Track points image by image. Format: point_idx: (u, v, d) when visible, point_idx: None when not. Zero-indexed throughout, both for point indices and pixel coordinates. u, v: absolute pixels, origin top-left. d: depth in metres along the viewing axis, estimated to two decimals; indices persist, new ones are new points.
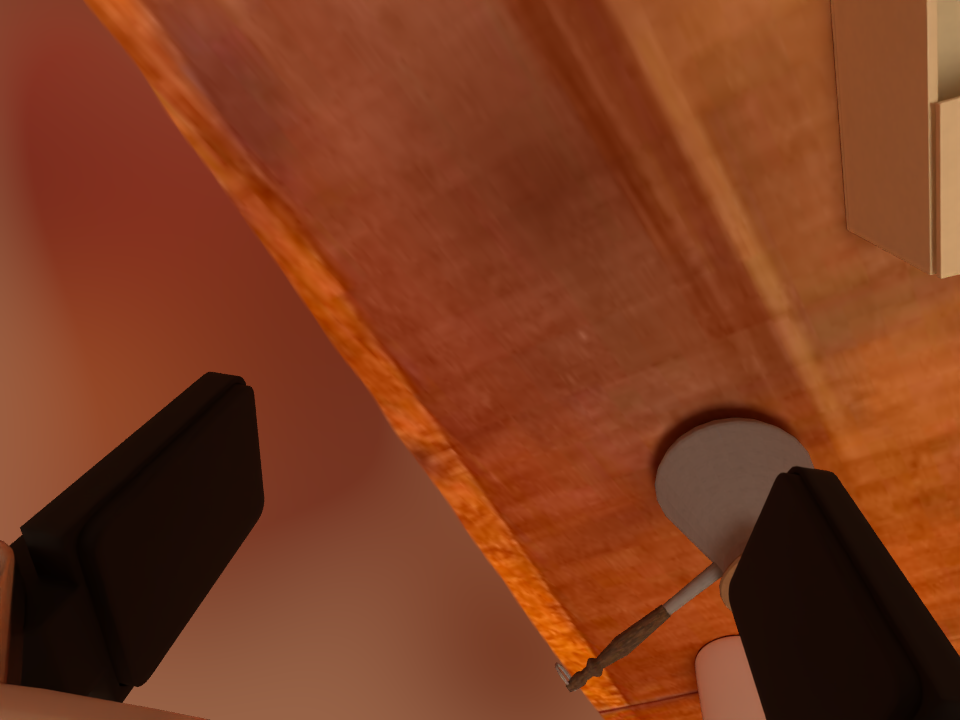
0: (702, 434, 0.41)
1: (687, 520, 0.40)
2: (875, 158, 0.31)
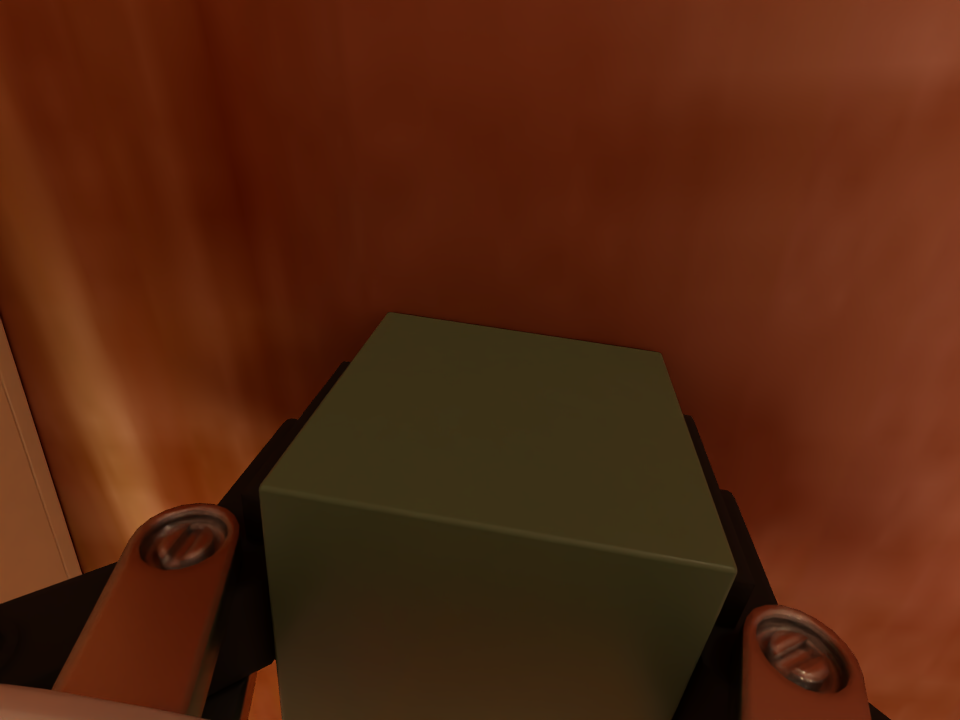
0: None
1: None
2: None
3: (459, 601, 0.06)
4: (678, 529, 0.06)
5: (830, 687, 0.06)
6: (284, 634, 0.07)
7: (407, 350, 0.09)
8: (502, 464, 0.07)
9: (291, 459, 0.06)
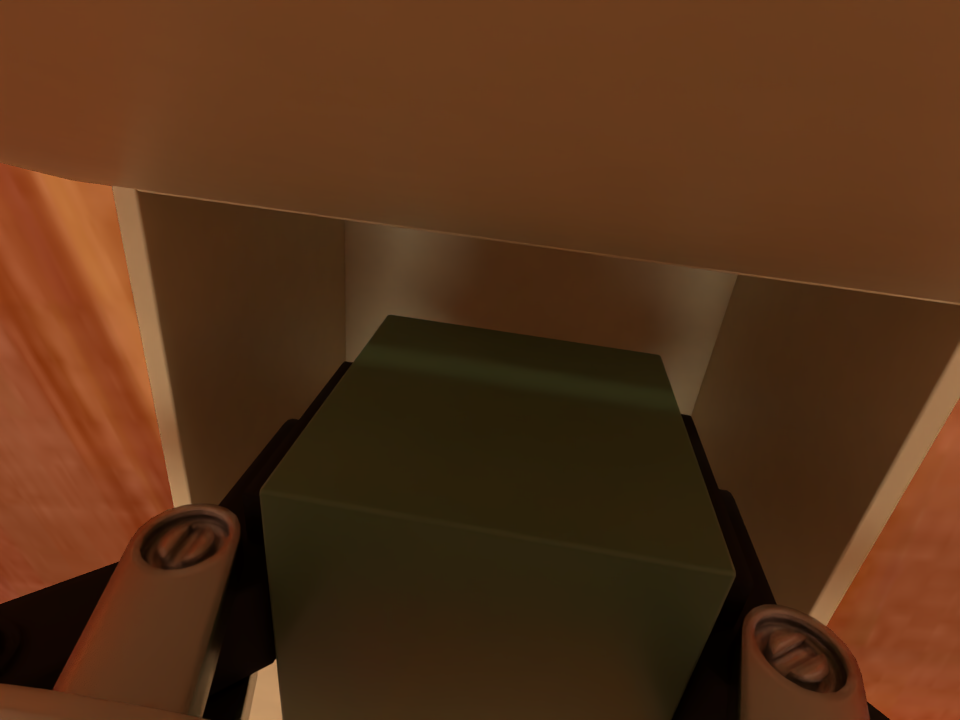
0: None
1: None
2: None
3: (458, 603, 0.06)
4: (677, 532, 0.06)
5: (829, 686, 0.06)
6: (285, 636, 0.07)
7: (407, 352, 0.09)
8: (503, 467, 0.07)
9: (291, 462, 0.06)
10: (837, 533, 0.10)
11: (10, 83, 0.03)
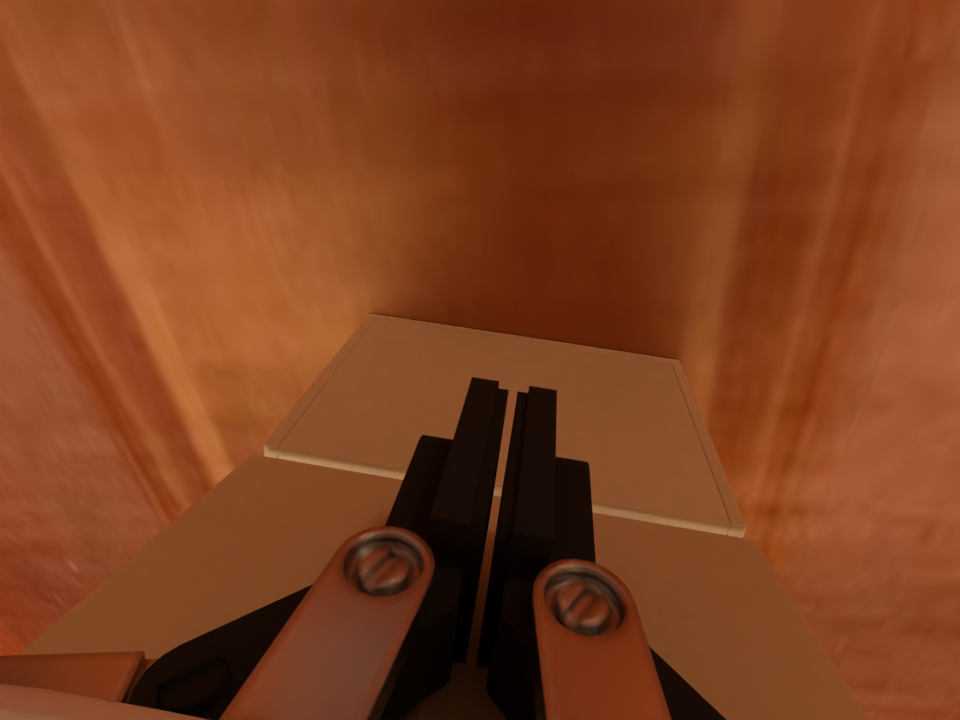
0: None
1: None
2: None
3: None
4: None
5: (612, 622, 0.06)
6: None
7: None
8: None
9: None
10: None
11: None
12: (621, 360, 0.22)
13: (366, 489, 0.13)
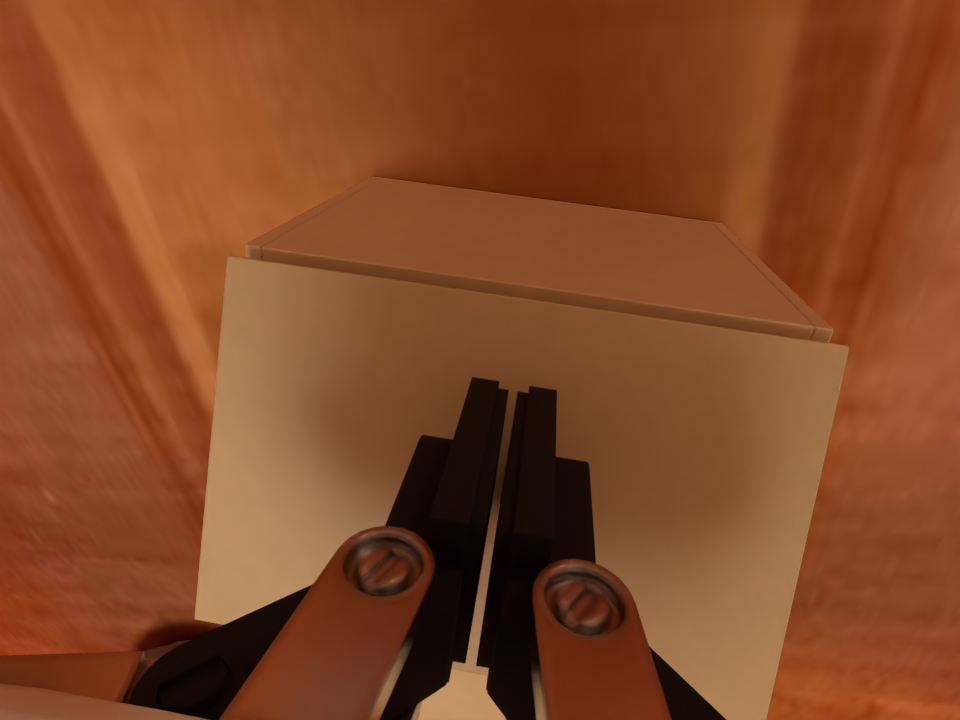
0: None
1: None
2: None
3: None
4: None
5: (612, 622, 0.06)
6: None
7: None
8: None
9: None
10: None
11: None
12: (657, 219, 0.19)
13: (373, 316, 0.12)
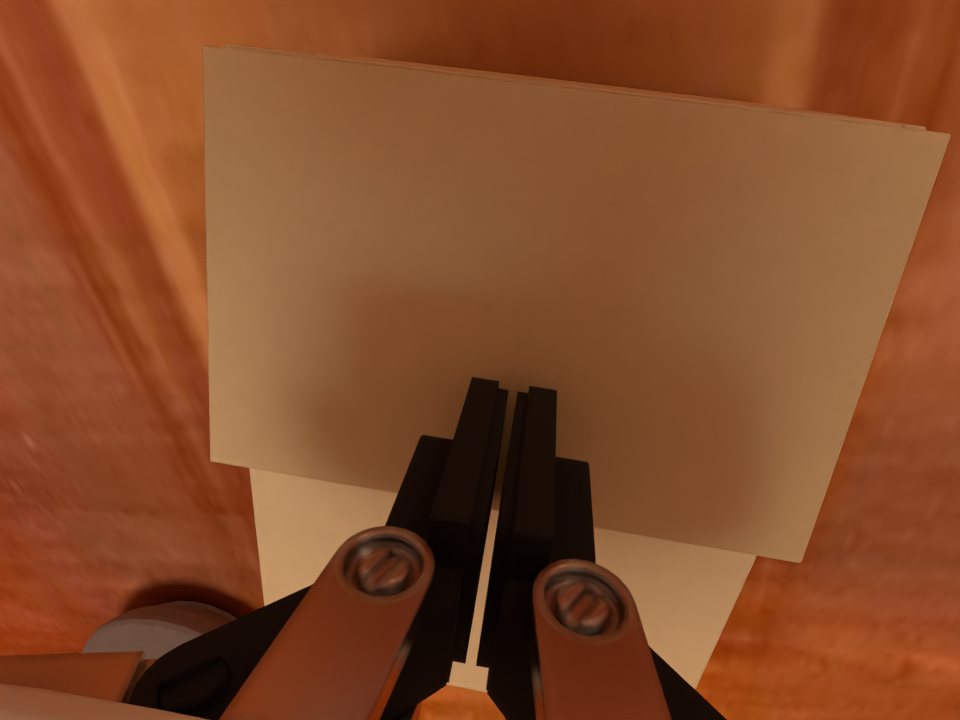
0: (133, 628, 0.30)
1: None
2: None
3: None
4: None
5: (612, 622, 0.06)
6: None
7: None
8: None
9: None
10: None
11: None
12: None
13: (378, 115, 0.10)
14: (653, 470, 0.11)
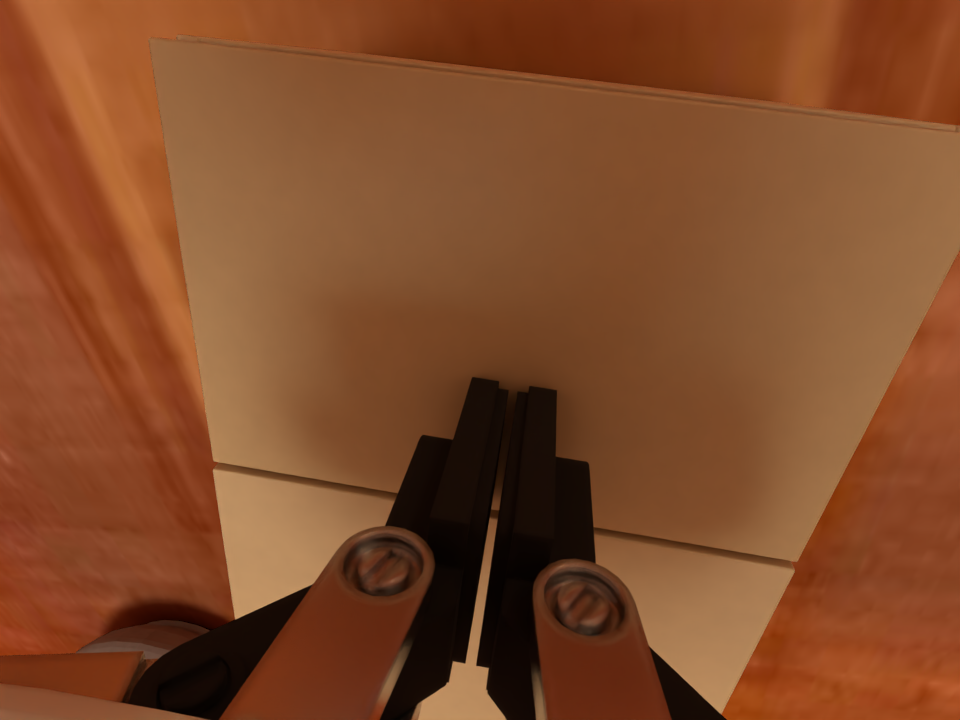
0: (114, 651, 0.28)
1: None
2: None
3: None
4: None
5: (612, 622, 0.06)
6: None
7: None
8: None
9: None
10: None
11: None
12: None
13: (354, 118, 0.09)
14: (653, 478, 0.11)
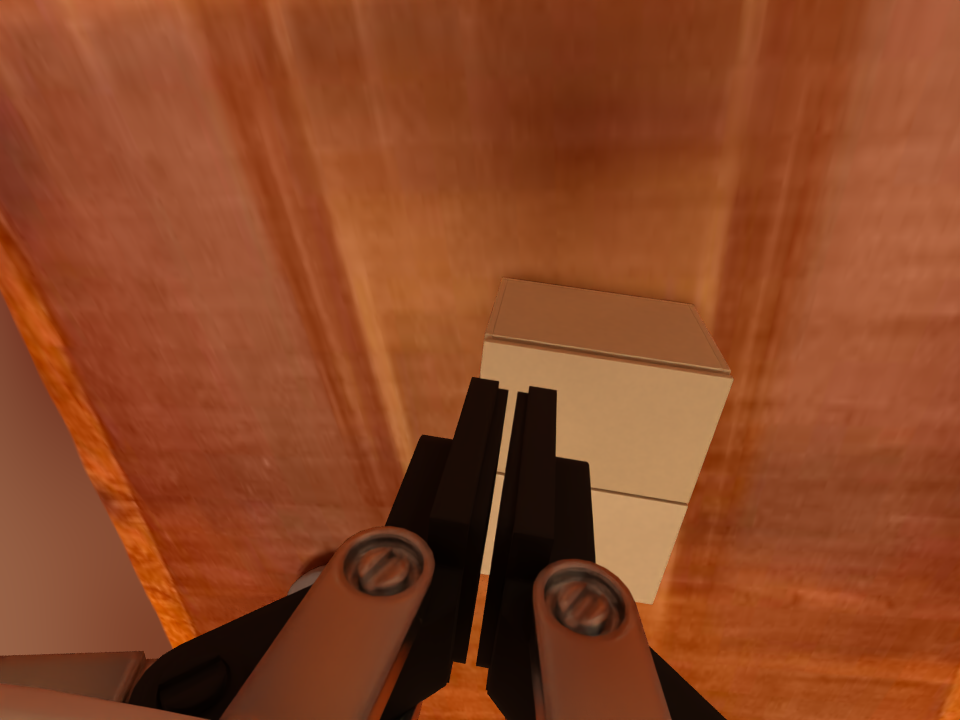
0: None
1: None
2: None
3: None
4: None
5: (612, 623, 0.06)
6: None
7: None
8: None
9: None
10: None
11: None
12: (658, 304, 0.36)
13: (544, 364, 0.29)
14: (635, 472, 0.31)
